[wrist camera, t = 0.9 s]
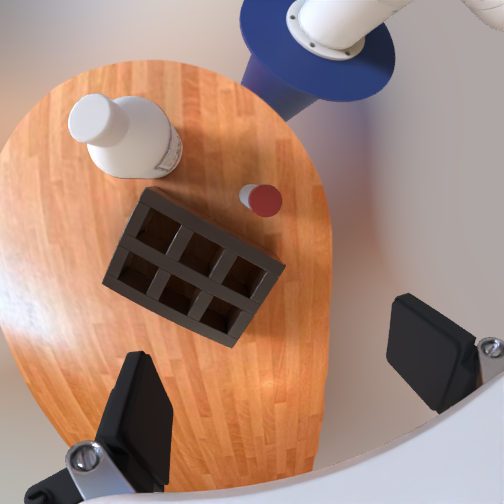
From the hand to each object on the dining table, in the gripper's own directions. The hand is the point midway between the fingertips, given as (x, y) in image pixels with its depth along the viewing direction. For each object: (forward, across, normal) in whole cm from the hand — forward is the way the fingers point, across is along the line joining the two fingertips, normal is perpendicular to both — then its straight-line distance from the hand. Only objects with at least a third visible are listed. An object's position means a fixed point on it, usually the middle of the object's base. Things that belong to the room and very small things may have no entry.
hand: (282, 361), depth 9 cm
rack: (+26, +5, +3) cm, 27 cm away
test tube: (+26, -3, -4) cm, 27 cm away
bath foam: (+26, +8, -11) cm, 30 cm away
